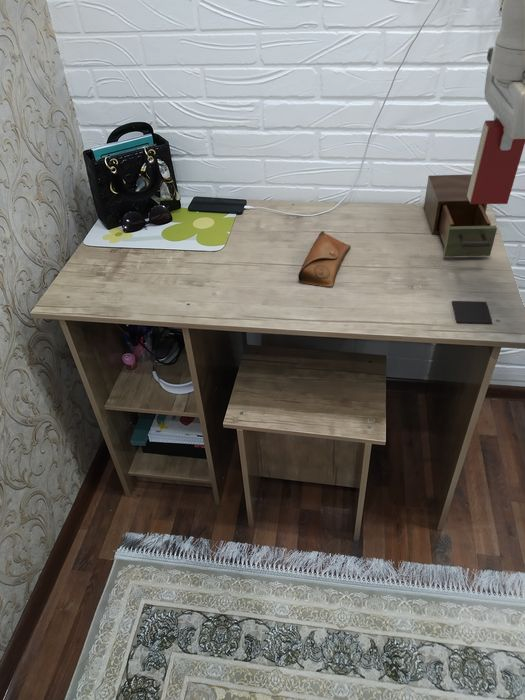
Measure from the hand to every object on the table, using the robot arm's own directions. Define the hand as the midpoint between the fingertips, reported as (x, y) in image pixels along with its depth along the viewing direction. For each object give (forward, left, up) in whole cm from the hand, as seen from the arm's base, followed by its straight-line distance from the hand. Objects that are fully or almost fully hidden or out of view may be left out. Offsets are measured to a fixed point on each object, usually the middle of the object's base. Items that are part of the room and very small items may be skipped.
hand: (500, 143), depth 104 cm
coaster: (-4, +9, -32) cm, 33 cm away
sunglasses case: (+31, +7, -32) cm, 45 cm away
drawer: (+5, -13, -31) cm, 34 cm away
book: (0, 0, -11) cm, 11 cm away
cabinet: (+12, -25, -32) cm, 42 cm away
